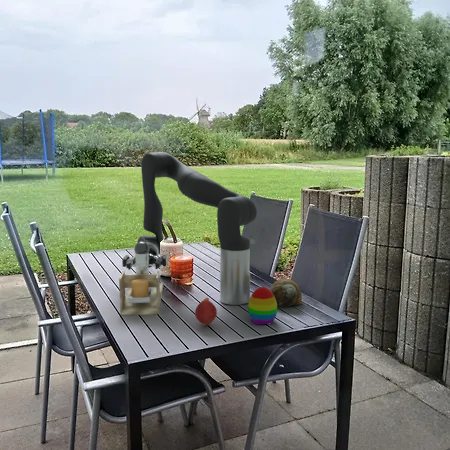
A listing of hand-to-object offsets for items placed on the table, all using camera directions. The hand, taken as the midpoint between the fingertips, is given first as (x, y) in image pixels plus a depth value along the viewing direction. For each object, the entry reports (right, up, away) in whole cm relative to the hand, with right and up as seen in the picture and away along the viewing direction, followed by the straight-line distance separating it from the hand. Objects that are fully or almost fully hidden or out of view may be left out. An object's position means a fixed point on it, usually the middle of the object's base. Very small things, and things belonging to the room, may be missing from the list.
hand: (142, 266), depth 144 cm
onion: (+21, -15, -19) cm, 32 cm away
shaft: (0, -8, -5) cm, 10 cm away
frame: (0, -11, +2) cm, 11 cm away
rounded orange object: (+1, -8, -9) cm, 11 cm away
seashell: (+45, -12, -1) cm, 47 cm away
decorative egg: (+37, -14, -16) cm, 42 cm away
